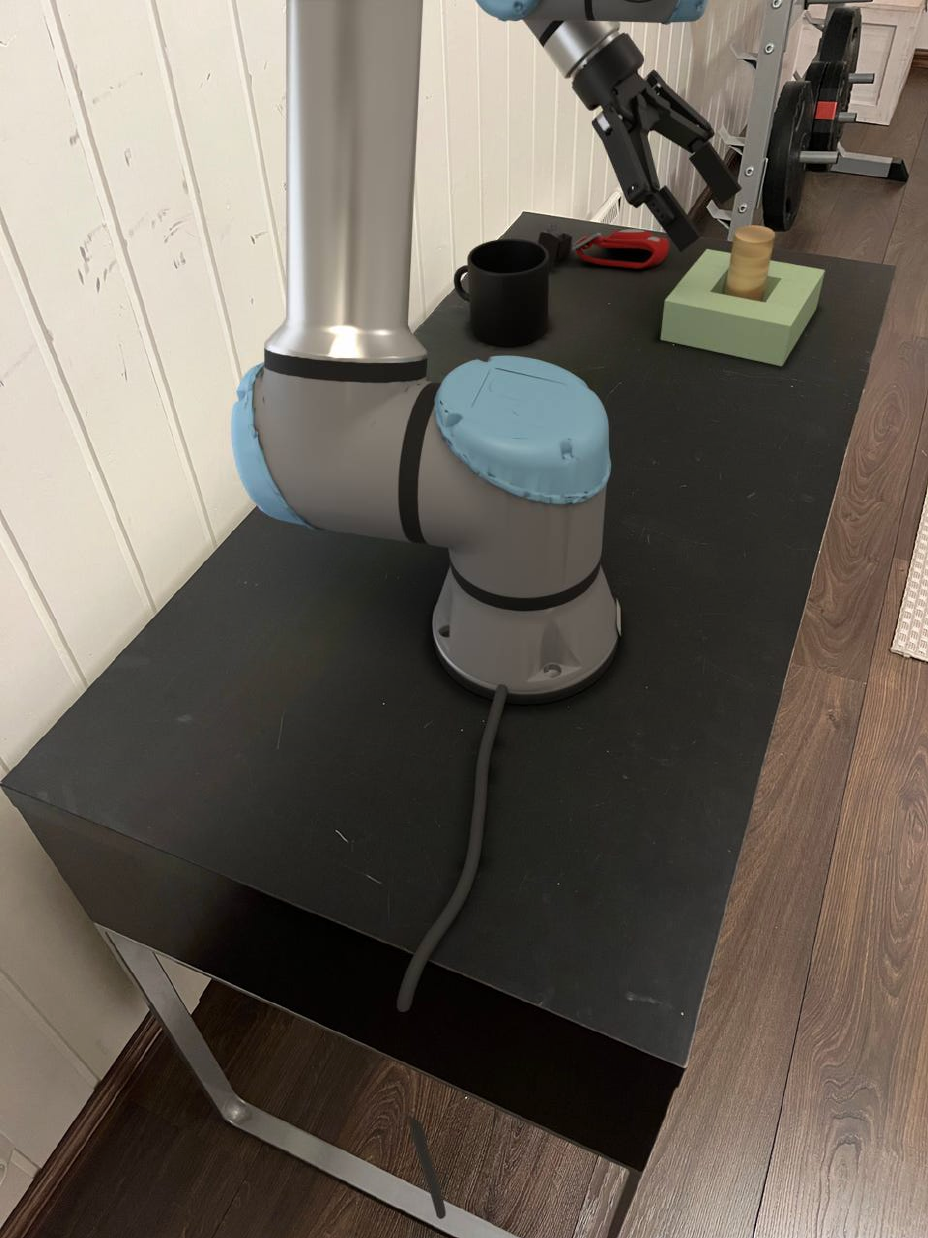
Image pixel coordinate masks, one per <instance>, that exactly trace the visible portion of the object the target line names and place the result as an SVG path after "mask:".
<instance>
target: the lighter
mask: <svg viewBox="0 0 928 1238" xmlns="http://www.w3.org/2000/svg"><path fill="white" fill-rule="evenodd" d="M557 226H558V225H556V224H555V223H552V224H551V223H548V224H547V226H546V231H545V230H541V231H540V232H539V236H538V240H537V243H538V244H540V245H542V246H543V247H544V248H546V250H547V251H548V254H549V270H552V271H553V270H554V269H553V268H554V266H555V265H554V264H555V260H560V261H561V260H564V259H565V258H567V257H568V256H569V255H570V254H571V253H572V245H573V244H572V243H573V236H572V235H570V234H567V233H565V232H561V233H560V234H558V235H557V233H556V230H557Z"/></svg>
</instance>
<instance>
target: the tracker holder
mask: <svg viewBox="0 0 928 1238" xmlns="http://www.w3.org/2000/svg"><path fill="white" fill-rule="evenodd" d="M602 236H603V235H602V233H601V232H596V233H594V234H593V235H587V236H583V237H581V238H580V239H578V240H576V241H575V242H574V243H573V244H572V247H571V251H575V253H576V254H577V257H578V258H580V259H581V260H583V261H585V262H587V263H591V264H594V265H600V266H607V267H616V268H626V269H636V270H638V269H648V268H654V267H656V266H658V265H660V264H661V263H662V262H663V261H664V260H665V259H666V257H667V255H668V252H669V249H670V243H669V240H668V239H667V238H666V237H661V236H656V235H653V234H652V233H651V232H649V231H647V230H643V229H636V228H628V229H621V230H616V231H613V232H611V234H609V236H608V235H607V236H603V237H602ZM593 245H594V246H595V247H599V248H604V249H605V248H607V249H639V250H646V251H648V252H650V253H651V256H650V258H649V259H648V260H646V261H645V262H637V261H627V260H618V259H609V258H607V259H606V258H597V257H593V256H591V255H587V254H586V253H584V252H583V251H582V250H584V251H585V250H589V249H591V248H592V247H593Z"/></svg>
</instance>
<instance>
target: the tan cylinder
mask: <svg viewBox="0 0 928 1238" xmlns="http://www.w3.org/2000/svg"><path fill="white" fill-rule="evenodd" d="M774 231H775V230H773V229H772V228H770V227H766V226H763V225H755V224H754V225H753V224H751V225H744V226H740V227H738V228H736V230H734V232H733V238H732V246H731V251H730V253H731V257H730V263H729V270H728V276H727V282H726V289H725V295H729V296H734V297H739V298H744V299H749V300H754V301H759V302H763V297H764V291H765V286H766V281H767V276H768V270H769V265H770V260H772V259H771V258H772V253H773V249H774V244H775V239H776V233H775V232H774Z"/></svg>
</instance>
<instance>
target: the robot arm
mask: <svg viewBox="0 0 928 1238" xmlns="http://www.w3.org/2000/svg"><path fill="white" fill-rule="evenodd" d="M708 1H709V0H475V2H476V4H477V5H478V6H479V8H481V10H482V11H483V12H485V13H486V14H487V15H489V16H491V17H494V18H495V19H497V20H498V21H500V22H504V23H505V22H509V21H511V22H519V21H523V22H524V24H525V25H526V26H527V28H528V30H530V32H531V33H532V34H533V36H534V37H535V39H537V41H538V43H539V44H540V45H541V47H542V48H543V50H544V51H545V52H546V54H547V56H548V57H549V58H550V60H551V61H552V62H553V64H554V65H555V67H556V69H557V70H558V71H559V73H560V74H561V76H562V77H563V78H564V79H565V80H569V79H570V78H571V79H572V82H571V85H572V86H571V89H572V90H573V91H574V93H575V95H576V96H577V97H578V99H579V100H580V101H581V102H582V104H583V106H584V107H585V108H586V109H587V110H588V111H590V112H593V111H595V110H596V109H599V107H600V108H601V109H602V111H601V112H599V114H597V116H596V117H594V118H593V120H591V126H592V128H593V129H594V131H595V132H596V134H597V135H598V137H599V139H600V140H601V142H602V145H603V147H604V149H605V153H606V154H607V157H608V159H609V161H610V164H611V166H612V169H613V171H614V174H615V176H616V178H617V181H618V184H619V186H620V189H621V192H622V194H623V196H624V199H625V201H626V203H627V204H629V205H630V206H632V207H633V208H634V209H638V208H640V207H641V206H642V205H643V204H645V207H646V208H647V209H648V210H649V211H650V213H651V214H652V215H653V217H654V218H655V220H656V221H657V222H658V224H659V225H660V227H661V228H662V229H663V231H664V232H665V233H666V235H667V236H668V238H669V239H670V240H671V241H672V243H673V244H674V246H675V247H676V248H677V250H678V251H679V253H682V252H683V251H684V250H685V249H687V248H689V246H691V245H692V244H694V243H695V242H696V241H698V240H699V239H700V238H701V237H702V233H701V232H700V231H699V229H698V227H697V226H696V224H695V223H694V222H693V221H692V219H691V217H689V215H688V214H687V212H686V211H685V210H684V208H683V207H682V205H681V204H680V203H679V201H678V200H677V198H676V197H675V196H674V194H673V193H672V191H671V190H670V189H669V187H668V186H667V184H664V186H662V187H661V184H660V181H659V177H658V172H657V168H656V164H655V161H654V157H653V152H652V149H651V145H650V141H649V134H650V133H651V132H656V133H657V134H659V135H660V136H662V137H664V138H666V139H667V140H669V141H670V142H672V143H674V144H675V145H676V146H678V147H680V148H682V149H683V150H685V151H687V152H688V153H690V154H692V155H691V156H690V157H688V160H689V161H690V163H691V164H692V165H693V167H694V168H695V170H696V171H697V173H698V174H699V175H700V176H701V178H702V180H703V181H704V182H705V184H706V185H707V186H708V188H709V189H710V191H711V193H712V194H714V196H715V198H716V199H717V201H718V202H719V204H720V205H724V204H725V203H726V202H727V201H728V200H730V199H731V198H733V197H734V196H735V195H736V194H738V193H739V192H741V191H742V189H743V188H742V186H741V184H740V183H739V182H738V180H737V179H736V177H735V176H734V174H733V173H732V172H731V171H730V169H729V167H728V166H727V165H726V163H725V162H724V160H723V159H722V158H721V156H720V155H719V153H718V151H717V150H716V148H714V146H713V144H712V143H711V141H710V140H711V139H712V138H713V137H714V136H715V135H716V132H715V130H714V128H713V127H712V125H711V123H710V121H708V120H707V119H706V118H705V117H704V116H702V115H701V114H700V113H699V112H698V111H697V110H696V109H695V108H693V106H692V105H691V104H690V103H689V102H687V101H686V100H685V99H684V98H682V97H681V95H680V94H678V93H677V92H676V91H675V90H674V89H673V88H671V86H669V85H668V84H667V83H666V81H665V80H664V78H663V77H662V76H661V75H660V74H659V72H658V71H657V70H656V69H652V70H651V71H650V72H649V73H648V74H647V75H646V76H645V77H644V78H643V77H642V75H640V73H639V70H640V69H641V67H642V66H643V64H644V63H645V56H644V55H643V52H641V50H640V48H639V47H638V46H637V44H636V43H635V41H634V40H633V39H632V37H631V36H630V34H629V33H626V32H622V33H620V32H619V31H620V29H621V23H645V24H646V23H647V24H648V23H650V24H654V23H655V24H661V25H665V26H667V25H670V24H672V23H693V22H696V21H698V20H700V19H701V18H702V17H703V16H704V14H705V12H706V9H707V7H708ZM423 11H424V0H285V318H284V320H283V321H282V323H281V324H280V326H279V327H277V329H275V331H274V332H273V333H272V334H270V335H269V336H268V337H267V338H266V339H265V341H264V343H263V359H264V360H263V361H262V362H261V363H259V364H256V365H253V366H252V367H250V369H248V370H247V372H245V374H244V375H243V376H242V378H241V379H240V381H239V384H238V386H237V389H236V396H237V401H235V402H234V403H233V405H232V410H231V420H230V423H231V424H230V434H231V435H230V436H231V437H230V438H231V448H232V454H233V459H234V463H235V468H236V471H237V474H238V477H239V479H240V482H241V484H242V486H243V488H244V491H245V492H246V494H247V496H248V497H249V498H250V500H251V501H253V502H254V503H255V504H256V506H257V507H258V509H259V510H260V511H261V512H263V513H264V514H265V515H267V516H269V517H270V518H272V519H275V520H277V521H281V522H286V523H290V524H295V525H299V526H303V527H305V528H307V529H309V530H313V531H319V532H325V531H331V532H333V531H334V532H339V533H346V534H353V535H359V536H366V537H371V538H379V539H385V540H390V541H391V540H393V541H398V542H406V543H414V544H420V545H426V546H431V547H433V546H434V547H440V548H445V549H448V554H449V568H448V571H447V574H446V577H445V580H444V582H443V585H442V587H441V591H440V594H439V596H438V599H437V602H436V604H435V607H434V610H433V615H432V632H433V642H434V648H435V652H436V656H437V658H438V660H439V662H440V664H441V666H442V667H443V669H444V671H446V673H447V674H448V675H449V676H450V677H451V678H452V679H453V680H454V681H455V682H456V683H458V684H459V685H460V686H462V687H463V688H465V689H466V690H468V691H469V692H471V693H473V694H476V695H477V696H480V697H483V698H485V699H488V700H491V701H492V703H491V706H490V710H489V714H488V717H487V719H486V723H485V728H484V731H483V734H482V738H481V741H480V745H479V749H478V755H477V761H476V767H475V768H476V769H475V778H474V779H475V780H474V797H473V806H472V813H471V814H472V815H471V821H470V828H469V829H470V830H469V838H468V845H467V851H466V857H465V861H464V865H463V868H462V871H461V874H460V878H459V880H458V882H457V885H456V887H455V889H454V891H453V893H452V895H451V896H450V898H449V900H448V902H447V904H446V905H445V906H444V908H443V910H441V911H442V912H440V914H439V915H438V917H437V918H436V920H435V922H433V924H432V926H431V927H430V928H429V930H428V931H427V933H426V934H425V935H424V937H423V938H422V940H421V942H420V943H419V945H418V947H417V948H416V950H415V951H414V954H413V956H412V958H411V960H410V962H409V963H408V967H407V969H406V970H405V973H404V977H403V979H402V982H401V984H400V988H399V992H398V996H397V1000H396V1008H397V1010H398V1011H399V1012H400V1013H401V1012H402V1013H405V1012H407V1011H409V1010H410V1008H411V1006H412V1004H413V999H414V996H415V992H416V990H417V986H418V984H419V981H420V978H421V976H422V973H423V971H424V969H425V967H426V964H428V961H429V959H430V957H431V955H432V954H433V952H434V951H435V949H436V947H437V946H438V944H439V943H440V941H441V940H442V938H443V937H444V936H445V934H446V932H447V931H448V929H450V926H451V925H452V924H453V922H454V920H455V919H456V918H457V916H458V914H459V913H460V911H461V909H462V908H463V905H464V904H465V902H466V900H467V899H468V896H469V894H470V892H471V889H472V886H473V884H474V881H475V878H476V875H477V872H478V869H479V863H480V859H481V853H482V846H483V837H484V827H485V819H486V812H487V801H488V800H487V799H488V784H489V783H488V781H489V769H490V762H491V756H492V751H493V747H494V743H495V740H496V736H497V732H498V729H499V726H500V722H501V718H502V715H503V711H504V707H505V704H510V705H525V706H526V705H529V706H530V705H541V704H549V703H552V702H557V701H560V700H564V699H567V698H570V697H572V696H575V695H576V694H578V693H580V692H582V691H584V690H586V689H587V688H589V687H590V686H591V685H593V684H594V683H595V682H597V681H598V680H599V679H600V678H601V677H603V675H604V674H605V672H606V671H607V670H608V668H609V667H610V665H611V664H612V662H613V660H614V658H615V656H616V652H617V648H618V643H619V642H618V641H619V636H620V637H621V636H622V632H621V631H622V627H621V623H622V622H621V621H622V620H621V619H622V618H621V605H620V603H619V601H618V599H616V602H615V599H614V598H613V595H612V592H611V589H610V586H609V583H608V580H607V578H606V574H605V572H604V570H603V567H602V555H603V554H602V552H603V539H604V523H605V509H606V499H607V498H606V497H607V485H608V483H609V479H610V475H611V469H612V461H611V453H610V426H609V418H608V414H607V412H606V409H605V406H604V404H603V402H602V400H601V398H599V396H598V395H597V394H596V393H595V392H594V391H593V390H591V389H590V388H589V387H588V385H587V384H586V382H585V381H584V380H583V379H581V378H580V377H578V375H576V374H574V373H573V372H570V371H569V370H567V369H565V368H562V367H560V366H558V365H556V364H553V363H550V362H547V361H544V360H541V359H537V358H532V357H526V356H519V355H494V356H490V357H489V358H488V360H487V361H483V360H481V359H473V360H469V361H468V362H465V363H463V364H461V365H458V366H457V367H455V368H454V369H453V370H451V371H450V372H449V373H447V375H446V376H445V377H444V379H442V381H441V382H434V381H429V380H428V379H427V377H428V359H429V357H428V355H429V354H428V350H427V349H426V348H425V347H424V346H423V344H422V343H421V341H419V339H418V338H417V337H416V336H415V335H414V333H413V332H412V331H411V328H410V326H409V313H410V311H409V309H410V290H411V289H410V288H411V269H412V268H411V267H412V249H413V248H412V247H413V228H414V227H413V226H414V225H413V224H414V207H415V206H414V203H415V202H414V201H415V183H416V160H417V141H418V140H417V139H418V117H419V99H420V98H419V95H420V77H421V76H420V75H421V54H422V53H421V52H422V32H423ZM406 1115H407V1119H408V1125H409V1128H410V1129H409V1130H410V1134H411V1137H412V1141H413V1144H414V1147H415V1151H416V1154H417V1157H418V1161H419V1163H420V1166H421V1169H422V1173H423V1176H424V1178H425V1181H426V1184H427V1187H428V1191H429V1194H430V1197H431V1201H432V1204H433V1207H434V1213H435V1215H436V1217H437V1218H438V1219H439V1220H442V1219H444V1218H445V1217H446V1215H447V1210H446V1207H445V1202H444V1197H443V1193H442V1190H441V1186H440V1183H439V1179H438V1176H437V1173H436V1169H435V1166H434V1163H433V1159H432V1156H431V1153H430V1149H429V1146H428V1142H427V1137H426V1134H425V1130H424V1125H423V1123H422V1122H420V1121H418V1120H417V1119H415V1118H414V1117H412V1116H411V1115H409V1114H406Z"/></svg>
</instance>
